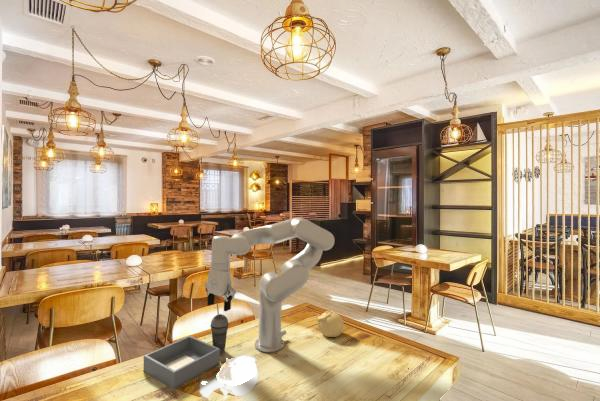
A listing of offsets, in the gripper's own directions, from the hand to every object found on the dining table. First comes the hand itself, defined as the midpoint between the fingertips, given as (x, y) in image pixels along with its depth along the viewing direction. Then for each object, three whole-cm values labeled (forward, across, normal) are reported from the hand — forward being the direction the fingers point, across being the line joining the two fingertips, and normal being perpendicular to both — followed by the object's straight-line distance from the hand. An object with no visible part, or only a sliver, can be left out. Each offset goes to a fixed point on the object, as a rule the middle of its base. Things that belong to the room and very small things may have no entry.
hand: (218, 307), depth 131 cm
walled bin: (+19, -2, -15) cm, 25 cm away
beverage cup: (+19, 0, +1) cm, 19 cm away
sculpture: (+18, +30, +44) cm, 56 cm away
